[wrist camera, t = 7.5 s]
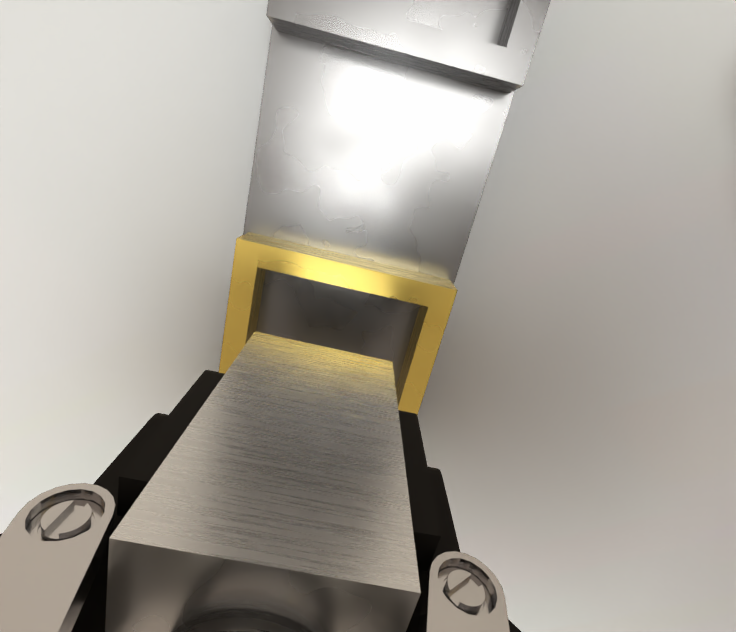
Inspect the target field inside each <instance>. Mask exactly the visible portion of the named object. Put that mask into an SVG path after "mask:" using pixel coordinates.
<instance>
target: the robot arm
mask: <svg viewBox="0 0 736 632" xmlns="http://www.w3.org/2000/svg"><path fill="white" fill-rule="evenodd" d="M223 376H224V373H219V372H214V371H210V370H205V371H204V372H203V374H202V375H201V376H200V377H199V379H198V380H197V381H196V382H195V383H194V385H193V386H192V387H191V388H190V390H189V391H188V392H187V393H186V395H185V396H184V397H183V398H182V399H181V401H180V402H179V403H178V404H177V406H176V407H175V408H174V409H173V411H172V412H171V413H170V414H169V415H166V414H161V413H157V414H155V415H154V416H153V417H152V418H151V419H150V420H149V421H148V422H147V423H146V424H145V426H144V427H143V428H142V429H141V430H140V431H139V432H138V434H137V435H136V436H135V437H134V438H133V439H132V440H131V442H130V443H129V444H128V445H127V446H126V447H125V448H124V450H123V451H122V452H121V453H120V454H119V455H118V456H117V458H116V459H115V460H114V461H113V462H112V463H111V464H110V466H109V467H108V468H107V469H106V470H105V471H104V472H103V474H102V475H101V476H100V477H99V478H98V479H97V480H96V482H95V483H94V484H87V483H79V484H68V485H64V486H60V487H56V488H53V489H51V490H48V491H46V492H44V493H41V494H40V495H38V496H37V497H35V498H34V499H32V500H30V501H29V502H28V503H27V504H26V505H25V506H24V507H23V508H22V509H21V510H20V511H19V512H18V513H17V515H16V516H15V517H14V519H13V520H12V522H11V523H10V524H9V526H8V527H7V528H6V530H5V531H4V532H3V533H2V534H0V632H105V621H106V599H107V576H108V554H109V538H110V536H111V535H112V533H113V532H114V531H115V529H116V528H117V526H118V525H119V524H120V522H121V521H122V519H123V518H124V516H125V515H126V514H127V512H128V511H129V509H130V508H131V506H132V505H133V504H134V502H135V501H136V499H137V498H138V497H139V495H140V494H141V492H142V491H143V489H144V488H145V487H146V485H147V484H148V482H149V481H150V479H151V478H152V477H153V475H154V474H155V472H156V471H157V470H158V468H159V467H160V465H161V464H162V462H163V461H164V460H165V458H166V457H167V455H168V454H169V453H170V451H171V450H172V448H173V447H174V445H175V444H176V443H177V441H178V440H179V438H180V437H181V435H182V434H183V433H184V431H185V430H186V428H187V427H188V426H189V424H190V423H191V421H192V420H193V418H194V417H195V416H196V414H197V413H198V411H199V410H200V408H201V407H202V406H203V404H204V403H205V401H206V400H207V399H208V397H209V396H210V394H211V393H212V391H213V390H214V389H215V387H216V386H217V384H218V383H219V382H220V380H221V379H222V377H223ZM398 412H399V420H400V428H401V436H402V444H403V453H404V461H405V469H406V477H407V485H408V493H409V501H410V509H411V518H412V526H413V534H414V542H415V550H416V558H417V566H418V574H419V583H420V591H421V594H420V596H419V599H418V602H417V604H416V607H415V609H414V612H413V615H412V617H411V620H410V622H409V625H408V627H407V630H406V632H521V631H520V630H519V629H518V628H517V627H516V626H515V625H514V624H513V623H512V622H511V621H509V620H508V615H507V607H506V600H505V596H504V592H503V589H502V586H501V584H500V583H499V581H498V579H497V578H496V576H495V575H494V574H493V573H492V571H491V570H490V569H489V568H488V567H487V566H486V565H484V564H483V563H482V562H480V561H479V560H478V559H476V558H474V557H472V556H470V555H468V554H466V553H461V552H460V549H459V545H458V541H457V537H456V532H455V528H454V524H453V520H452V516H451V511H450V507H449V503H448V499H447V495H446V491H445V486H444V482H443V478H442V474H441V472H440V470H439V469H436V468H431V467H427V462H426V457H425V452H424V447H423V442H422V437H421V432H420V427H419V422H418V417H417V414H415V413H410V412H406V411H401V410H398Z"/></svg>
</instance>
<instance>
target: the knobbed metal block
mask: <svg viewBox="0 0 736 632" xmlns="http://www.w3.org/2000/svg"><path fill="white" fill-rule="evenodd" d="M420 594H421V591H420V583H419V574H418V566H417V558H416V550H415V542H414V534H413V526H412V518H411V509H410V501H409V493H408V485H407V477H406V469H405V461H404V453H403V444H402V436H401V428H400V420H399V412H398V404H397V396H396V387H395V379H394V371H393V363H392V361H388V360H383V359H379V358H374V357H369V356H365V355H360V354H356V353H351V352H347V351H342V350H337V349H333V348H328V347H324V346H319V345H315V344H310V343H305V342H301V341H296V340H292V339H287V338H283V337H278V336H273V335H269V334H264V333H260V332H254V333H253V335H252V336H251V337H250V339H249V340H248V342H247V343H246V345H245V346H244V347H243V349H242V350H241V352H240V353H239V355H238V356H237V357H236V359H235V360H234V362H233V363H232V364H231V366H230V367H229V369H228V370H227V372H226V373H225V374H224V376H223V377H222V379H221V380H220V382H219V383H218V384H217V386H216V387H215V389H214V390H213V391H212V393H211V394H210V396H209V397H208V399H207V400H206V401H205V403H204V404H203V406H202V407H201V408H200V410H199V411H198V413H197V414H196V416H195V417H194V418H193V420H192V421H191V423H190V424H189V426H188V427H187V428H186V430H185V431H184V433H183V434H182V435H181V437H180V438H179V440H178V441H177V443H176V444H175V445H174V447H173V448H172V450H171V451H170V453H169V454H168V455H167V457H166V458H165V460H164V461H163V462H162V464H161V465H160V467H159V468H158V470H157V471H156V472H155V474H154V475H153V477H152V478H151V479H150V481H149V482H148V484H147V485H146V487H145V488H144V489H143V491H142V492H141V494H140V495H139V497H138V498H137V499H136V501H135V502H134V504H133V505H132V506H131V508H130V509H129V511H128V512H127V514H126V515H125V516H124V518H123V519H122V521H121V522H120V524H119V525H118V526H117V528H116V529H115V531H114V532H113V533H112V535H111V536H110V538H109V554H108V576H107V599H106V621H105V632H406V630H407V627H408V625H409V622H410V620H411V617H412V615H413V612H414V609H415V607H416V604H417V602H418V599H419V596H420Z"/></svg>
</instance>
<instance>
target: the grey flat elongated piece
mask: <svg viewBox="0 0 736 632" xmlns="http://www.w3.org/2000/svg"><path fill="white" fill-rule="evenodd" d="M550 1H551V0H268V7H267V17H268V18H269V20H270V21H271V23H272V30H271V37H270V45H269V52H268V59H267V66H266V73H265V81H264V88H263V95H262V102H261V110H260V117H259V124H258V131H257V138H256V146H255V153H254V160H253V167H252V175H251V182H250V189H249V196H248V203H247V211H246V218H245V225H244V232H243V235H242V236H240V237H238V238H237V239H236V247H235V254H234V262H233V269H232V277H231V284H230V292H229V299H228V307H227V314H226V322H225V329H224V336H223V344H222V351H221V359H220V366H219V373H224V374H225V373H226V372H227V370H228V369H229V367H230V366H231V364H232V363H233V362H234V360H235V359H236V357H237V356H238V355H239V353H240V352H241V350H242V349H243V347H244V346H245V345H246V343H247V342H248V340H249V339H250V337H251V336H252V335H253V333H254V332H260V333H264V334H269V335H273V336H278V337H283V338H287V339H292V340H296V341H301V342H305V343H310V344H315V345H319V346H324V347H328V348H333V349H337V350H342V351H347V352H351V353H356V354H360V355H365V356H369V357H374V358H379V359H383V360H388V361H392V363H393V371H394V379H395V387H396V396H397V404H398V410H401V411H406V412H410V413H415V414H417V415H418V411H419V408H420V405H421V402H422V399H423V396H424V393H425V390H426V386H427V383H428V380H429V377H430V374H431V371H432V368H433V365H434V362H435V358H436V355H437V352H438V349H439V346H440V343H441V340H442V337H443V334H444V330H445V327H446V324H447V321H448V318H449V315H450V312H451V309H452V306H453V302H454V299H455V296H456V293H457V289H456V288H455V286H454V282H455V278H456V275H457V272H458V269H459V266H460V263H461V259H462V256H463V253H464V250H465V247H466V244H467V241H468V237H469V234H470V231H471V228H472V225H473V222H474V218H475V215H476V212H477V209H478V206H479V203H480V199H481V196H482V193H483V190H484V187H485V184H486V180H487V177H488V174H489V171H490V168H491V165H492V162H493V158H494V155H495V152H496V149H497V146H498V143H499V139H500V136H501V133H502V130H503V127H504V124H505V120H506V117H507V114H508V111H509V108H510V105H511V102H512V98H513V95H514V92H515V90H516V89H518V88H520V87H522V86H523V85H524V81H525V78H526V75H527V72H528V69H529V66H530V63H531V60H532V57H533V53H534V50H535V47H536V44H537V41H538V38H539V35H540V32H541V29H542V25H543V22H544V19H545V16H546V13H547V10H548V7H549V4H550Z"/></svg>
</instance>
